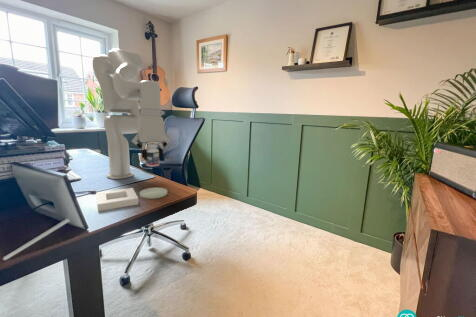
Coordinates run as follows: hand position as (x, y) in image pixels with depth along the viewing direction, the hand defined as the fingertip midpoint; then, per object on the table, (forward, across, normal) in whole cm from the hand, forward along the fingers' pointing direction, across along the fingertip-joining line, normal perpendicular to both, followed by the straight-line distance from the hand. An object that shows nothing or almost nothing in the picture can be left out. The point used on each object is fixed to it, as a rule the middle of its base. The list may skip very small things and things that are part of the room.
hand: (152, 158), depth 94 cm
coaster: (+15, 0, 0) cm, 15 cm away
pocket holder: (+15, +14, +2) cm, 21 cm away
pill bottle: (+3, 0, 0) cm, 3 cm away
